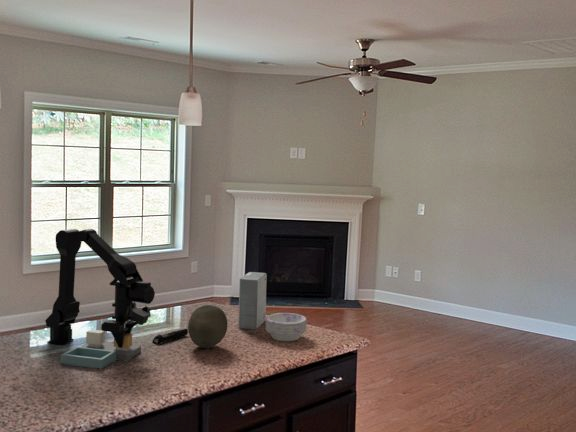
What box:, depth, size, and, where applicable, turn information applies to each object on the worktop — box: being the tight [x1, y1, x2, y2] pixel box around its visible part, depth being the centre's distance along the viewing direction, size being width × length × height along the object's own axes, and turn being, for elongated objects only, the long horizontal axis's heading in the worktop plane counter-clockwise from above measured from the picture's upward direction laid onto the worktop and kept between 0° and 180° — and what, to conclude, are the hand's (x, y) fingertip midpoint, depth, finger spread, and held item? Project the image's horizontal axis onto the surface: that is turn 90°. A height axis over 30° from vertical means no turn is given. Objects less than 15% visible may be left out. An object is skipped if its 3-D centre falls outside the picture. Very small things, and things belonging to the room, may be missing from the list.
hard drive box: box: [237, 271, 268, 331], centre depth 250 cm, size 16×8×20 cm, turn 169°
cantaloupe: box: [187, 304, 228, 349], centre depth 217 cm, size 14×14×15 cm
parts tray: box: [60, 346, 117, 370], centre depth 198 cm, size 14×9×3 cm, turn 77°
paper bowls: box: [265, 312, 307, 342], centre depth 233 cm, size 15×15×8 cm
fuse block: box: [80, 341, 142, 362], centre depth 207 cm, size 18×10×2 cm, turn 77°
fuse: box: [85, 329, 106, 348], centre depth 208 cm, size 5×3×7 cm, turn 77°
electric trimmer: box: [152, 328, 189, 345], centre depth 226 cm, size 4×16×3 cm, turn 144°
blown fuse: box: [113, 333, 133, 351], centre depth 206 cm, size 5×3×7 cm, turn 77°
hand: (122, 346), depth 206 cm, fingers closed on blown fuse, 3 cm apart
